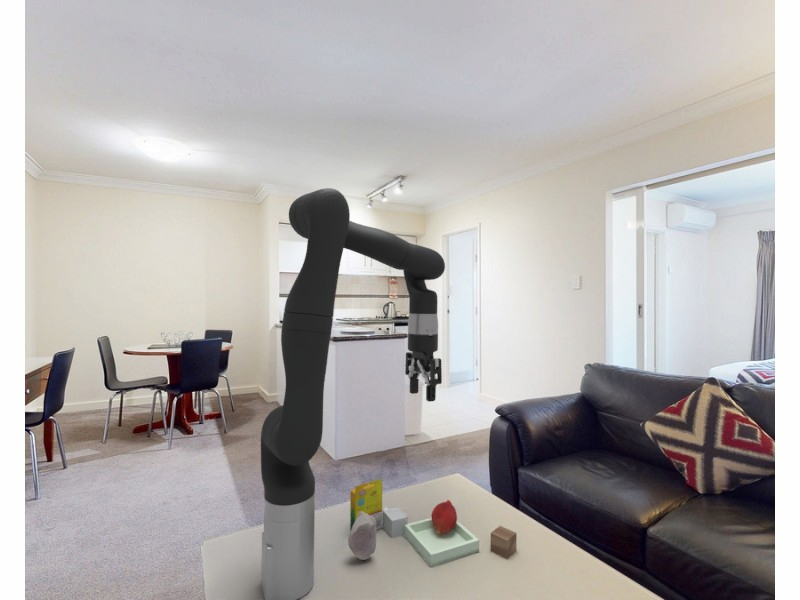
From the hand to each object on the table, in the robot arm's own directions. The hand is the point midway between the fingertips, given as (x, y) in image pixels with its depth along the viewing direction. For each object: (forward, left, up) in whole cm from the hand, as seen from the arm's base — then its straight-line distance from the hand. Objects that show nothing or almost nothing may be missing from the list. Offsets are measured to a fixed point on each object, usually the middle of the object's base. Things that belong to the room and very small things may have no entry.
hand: (422, 397), depth 99 cm
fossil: (-19, -9, -30) cm, 37 cm away
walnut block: (+10, -19, -30) cm, 37 cm away
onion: (-1, -10, -28) cm, 30 cm away
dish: (-1, -11, -30) cm, 32 cm away
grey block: (-8, -2, -30) cm, 31 cm away
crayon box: (-14, +1, -30) cm, 33 cm away
